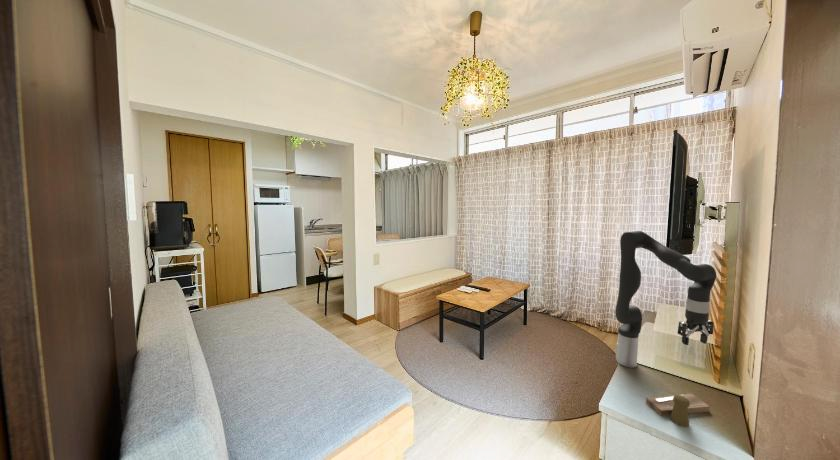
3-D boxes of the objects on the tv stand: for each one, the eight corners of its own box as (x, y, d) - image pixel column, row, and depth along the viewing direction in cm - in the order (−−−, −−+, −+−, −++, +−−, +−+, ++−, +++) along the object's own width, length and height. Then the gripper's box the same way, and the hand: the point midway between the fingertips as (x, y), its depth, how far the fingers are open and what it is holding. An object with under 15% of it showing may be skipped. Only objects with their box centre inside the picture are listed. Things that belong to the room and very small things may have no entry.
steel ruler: (655, 399, 131) (655, 398, 131) (682, 395, 132) (682, 394, 132) (658, 402, 129) (659, 401, 129) (686, 398, 131) (686, 397, 131)
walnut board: (645, 402, 133) (646, 397, 132) (691, 398, 134) (691, 393, 133) (661, 415, 125) (661, 410, 124) (709, 411, 126) (709, 406, 125)
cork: (669, 421, 122) (671, 397, 120) (670, 413, 126) (672, 390, 124) (688, 429, 117) (691, 405, 116) (689, 420, 122) (692, 397, 120)
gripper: (703, 304, 131) (700, 338, 133) (674, 306, 130) (671, 340, 132) (721, 311, 123) (718, 346, 125) (690, 313, 122) (687, 349, 125)
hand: (694, 343), depth 129 cm, fingers open, 8 cm apart
